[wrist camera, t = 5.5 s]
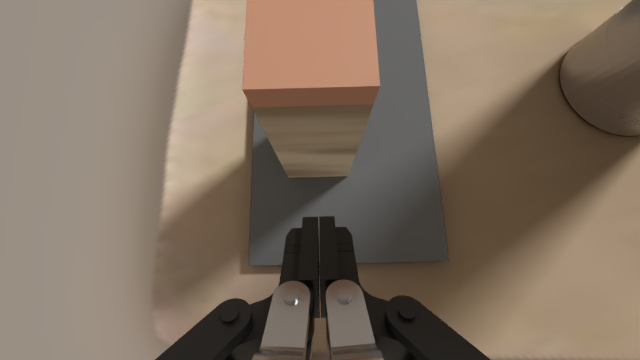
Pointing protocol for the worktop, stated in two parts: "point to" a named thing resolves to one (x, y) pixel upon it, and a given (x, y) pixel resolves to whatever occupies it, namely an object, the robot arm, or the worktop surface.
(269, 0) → the birch block
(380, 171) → the rubber mat
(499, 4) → the worktop surface
